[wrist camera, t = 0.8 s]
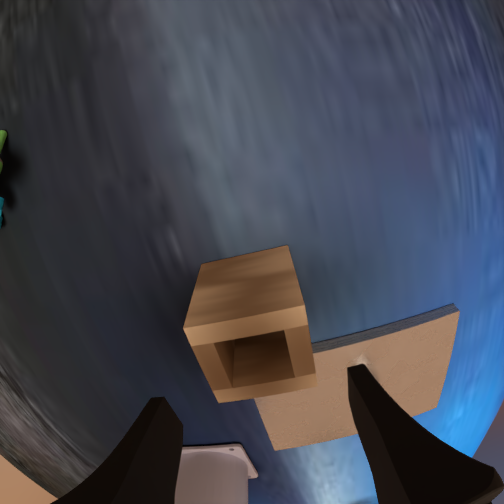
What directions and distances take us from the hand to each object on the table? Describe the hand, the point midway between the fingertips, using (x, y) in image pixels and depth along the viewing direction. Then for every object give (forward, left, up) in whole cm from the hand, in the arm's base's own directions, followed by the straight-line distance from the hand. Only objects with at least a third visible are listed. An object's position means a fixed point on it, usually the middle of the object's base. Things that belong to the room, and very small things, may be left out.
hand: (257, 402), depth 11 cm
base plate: (+6, -11, -8) cm, 15 cm away
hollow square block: (0, 0, -8) cm, 8 cm away
